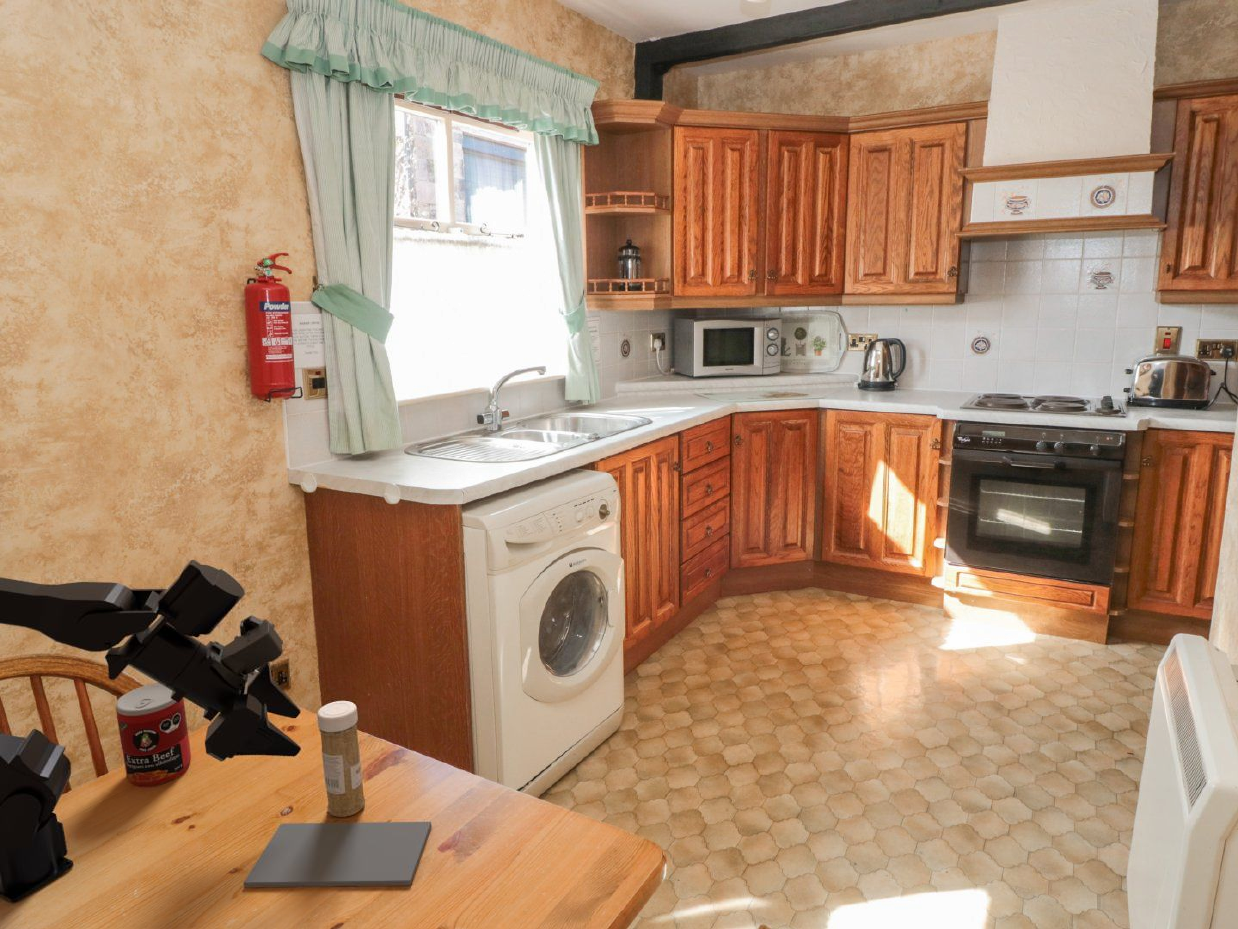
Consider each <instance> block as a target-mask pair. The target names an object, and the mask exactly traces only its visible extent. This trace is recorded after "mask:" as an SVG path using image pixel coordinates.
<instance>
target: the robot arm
mask: <svg viewBox="0 0 1238 929" xmlns="http://www.w3.org/2000/svg"><path fill="white" fill-rule="evenodd" d="M245 594H246V592H245V590H244V588H243V586H242V584H240V582H239V581H238V580H237V579H235V578H234V577H233V576H232V575H230V574H229V573H228V572H226V571H225V570H223V569H222V568H221V569H218V568H216V567H213V566H212V565H208V564H201V563H200V562H198V561H196V560H195V559H191V560H190V561H189V562H188V563H187V564H186V565H185V566H184V567H183V569H182V571H181V573H180V574H179V576H178V577H177V578H175V580H174V581H173V582H172V583H171V585H170V586H169V587H167V588H130V587H128V586H127V585H124V584H121V583H118V582H112V581H111V582H109V581H105V582H102V581H76V582H68V583H59V584H45V583H44V584H43V583H37V582H30V581H25V580H20V579H19V580H18V579H12V578H7V577H0V625H7V626H15V627H21V628H26V629H29V630H34V631H37V632H38V633H40V634H42V635H44V636H46V638H49V639H51V640H52V641H54V642H56V643H59V644H62V645H66V646H69V647H73V648H76V649H80V650H83V651H86V652H92V653H98V652H99V653H101V652H106V651H107V652H106V653H105V656H104V659H105V660H106V662H107V669H108V675H107V677H108V679H109V680H111V681H115V680H116V679H117V678H118V677H119V676H120V675H121V673H122V672H124V670H125V669H127V667H128V666H129V667H131V668H133V669H134V670H136V671H137V672H139V673H141V674H143V675H144V676H147V677H148V678H150V679H152V680H153V681H154V682H157V683H160V684H162V685H163V686H165V687H167V688H169V689H170V690H172V691H173V692H172V695H171V699H173V700H175V701H176V702H178V703H179V702H180V701H181V699H182V698H183V699H186V700H188V701H189V702H191V703H192V704H195V705H197V706H198V707H199V708H201V709H203V710H204V711H203V718H204V719H206V720H208V721H209V722H211V723H210V724H209V725H208V726H207V730H206V735H205V740H204V746H205V748H204V749H205V754H207V755H208V756H210V757H212V758H214V759H216V760H217V761H218V762H224V761H225V760H226V759H233V758H234V757H235V756H238V757H239V756H240V757H241V756H267V757H268V756H270V757H271V756H272V757H276V756H277V757H296V756H298V754H299V753H300V752H302V751H301V750H302V748H301V746H300V745H299V744H298V743H296V741H294V740H293V739H292V738H291V737H289V736H288V735H287V734H286V733H285V732H284V731H282V730H281V729H280V728H279V727H278V726H276V725H274V724H273V723H272V722H271V721H270V720H269V717H268V715H269V714H273V715H276V716H281V717H284V718H285V717H286V718H289V719H297V718H298V716H299V715H300V714H301V709H300V708H299V707H298V706H297V704H296V703H294V701H293V700H292V699H291V698H290V697H289V696H288V695H287V693H286V692H285V691H284V690H283V689H282V688H281V687H280V686H279V685H278V683H277V682H276V681H275V680H274V678H273V677H272V671H271V663H273V662H274V661H275V660H277V659H278V658H280V657H281V656H282V654H283V652H284V649H283V644H284V641H283V639H282V638H281V637H280V635H279V634H278V633H277V631H276V629H275V624H274V623H273V622H270V621H268V619H267V618H266V619H264V620H262V619H260V618H258V617H256V616H254V615H252V614H251V615H248V617H246V618H244V619H242V620H241V621H240V624H239V631H240V632H239V633H240V635H236V636H234V638H233V640H232V641H231V642H229V643H227V644H226V645H223V644H222V643H220V642H218V641H215V640H214V641H211V640H210V641H209V642H208V643H207V644H205V643H203V642H201V641H200V640H198V639H196V638H199V637H200V636H201V635H202V636H203V635H204V636H207V635H210V634H212V632H213V631H214V630H215V629H216V628H217V627H218V626H219V624H220V623H222V621H223V620H224V619H225V617H227V615H229V613H230V612H232V610H233V609H234V608H235V607H236V605H237V604H238V603H239V601H241V600H242V598H244V597H245ZM158 617H159V618H158ZM127 637H129V638H127ZM125 638H127V640H126V641H125V642H124V643H123V644H122V645H120V646H117V645H119V644H120V643H121V642H122V641H124V639H125ZM268 713H269V714H268ZM65 750H66V747H65V746H62V745H59V744H56V743H55V742H53V741H51V740H50V739H48V737H47V736H46V735H45V734H44V733H43V731H40V730H39V729H37V728H33V729H32V730H31V731H30V732H29V734H27V736H26V737H22V736H18V735H17V736H16V735H10V734H6V733H4V732H2V731H0V898H2V899H4V900H5V901H8V902H10V903H15V902H16V903H17V902H18V901H20V900H21V899H23V898H25V897H26V896H28V895H29V894H31V893H32V892H35V891H36V890H38V889H39V888H41V887H43V886H45V885H46V884H47V883H49V882H51V881H52V880H54V879H55V878H57V877H58V876H60V875H63V874H64V873H65V872H66V871H68V870H70V869H72V868H73V867H74V861H73V860H72V859H69V858H67V857H66V856H67V855H68V852H69V851H68V847H67V841H66V835H65V829H64V824H63V822H61V821H58V816H57V814H56V813H54V810H55V809H56V807H57V805H58V803H59V800H60V799H61V797H62V795H63V793H64V790H65V789H66V787H67V784H68V782H69V780H70V778H71V775H72V763H71V761H70V759H69V758H68V756H67V755H66V754H65Z"/></svg>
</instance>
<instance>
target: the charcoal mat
mask: <svg viewBox="0 0 1238 929" xmlns="http://www.w3.org/2000/svg"><path fill="white" fill-rule="evenodd" d="M431 830H432V821H380V822H379V821H373V822H372V821H370V822H311V823H310V822H308V823H307V822H304V823H301V822H299V823H296V822H295V823H292V822H291V823H280V825H279V826H278V828H277V829H276V831H275V832H274V833H273V836H272V837H271V838H270V840H269V842H268V843H267V845H266V847H265V848H264V849H263V851H262V852H261V854H260V856H259V858H257V860H256V862H255V864H254V865H253V867H252V868H251V870H250V872H249V873H248V875H247V876H246V877H245V879H244V881H243V887H244V888H280V887H281V888H283V887H284V888H286V887H287V888H294V887H296V888H297V887H363V886H364V887H365V886H366V887H375V886H385V887H386V886H411V885H412V882H413V880H414V877H415V874H416V872H417V869H418V866H419V863H420V860H421V857H422V854H423V851H424V848H425V845H426V842H427V840H428V837H429V835H430V832H431Z"/></svg>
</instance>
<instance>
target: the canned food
mask: <svg viewBox="0 0 1238 929" xmlns="http://www.w3.org/2000/svg"><path fill="white" fill-rule="evenodd" d="M172 692H173V691H172V690H170V689H169V688H167V687H165V686H163V685H162V684H160V683H158V682H157V683H151V684H147V685H142V686H141V687H140V686H139V687H137V688H134V689H132V690H131V691H128V692H127V693H125V694H123V695H122V696H120V697H119V698H118V699H117V701H116V703H115V713H116V718H117V725H118V731H119V732H118V733H119V738H120V739H119V740H120V744H121V750H122V755H123V756H122V758H123V761H124V769H125V775H126V777H127V779H128V781H129V783H131V785H134V786H136V787H141V788H143V787H144V788H145V787H146V788H147V787H155V786H158V785H163V784H166V783H169V782H170V781H173V780H175V779H177V778H178V777H180V776H181V775H183V774H184V773H185V772H186V771H187V770H188V768H190V765H191V761H192V760H191V759H192V753H191V746H190V745H191V744H190V737H189V729H188V724H187V723H188V721H187V715H186V707H185V698H184V697H183V698H182V699H181V701H180V702H179V703H178V702H176V701H175V700H173V699H171V695H172Z"/></svg>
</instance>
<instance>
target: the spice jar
mask: <svg viewBox="0 0 1238 929" xmlns="http://www.w3.org/2000/svg"><path fill="white" fill-rule="evenodd" d="M316 716H317V717H316V718H317V726H318V729H319V732H320V740H321V742H320V743H321V754H322V755H321V756H322V766H323V767H322V768H323V774H324V775H323V776H324V784H325V790H326V797H327V806H326V807H327V812H328V813H329V814H330V815H331V816H332V817H337V818H345V817H350V816H354V815H355V814H358V813H359V811H361V810H363V808H364V807H365V804H366V798H365V795H364V786H363V785H364V784H363V772H362V762H361V753H360V744H359V737H358V727H357V726H358V725H357V724H358V720H359V718H358V708H357V705H356V704H355V703H353V702H352V701H347V700H337V701H333V702H329V703H327V704H324V705H323V706H322V707H320V708H319V709H318V711H317V714H316Z"/></svg>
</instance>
